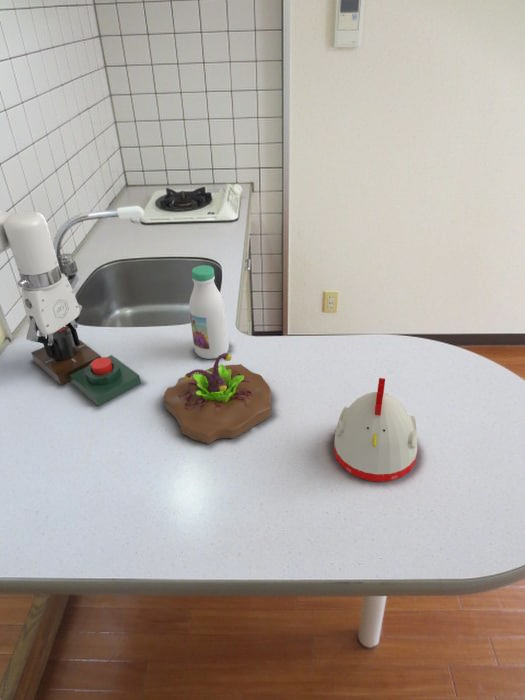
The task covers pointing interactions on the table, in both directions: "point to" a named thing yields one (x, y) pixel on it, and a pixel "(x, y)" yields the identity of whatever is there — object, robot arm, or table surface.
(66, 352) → the lock knob
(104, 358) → the button
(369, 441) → the kitchen timer
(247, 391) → the plant
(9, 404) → the table surface
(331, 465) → the table surface
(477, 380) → the table surface
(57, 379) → the panel
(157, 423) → the table surface
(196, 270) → the milk bottle
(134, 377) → the button box
